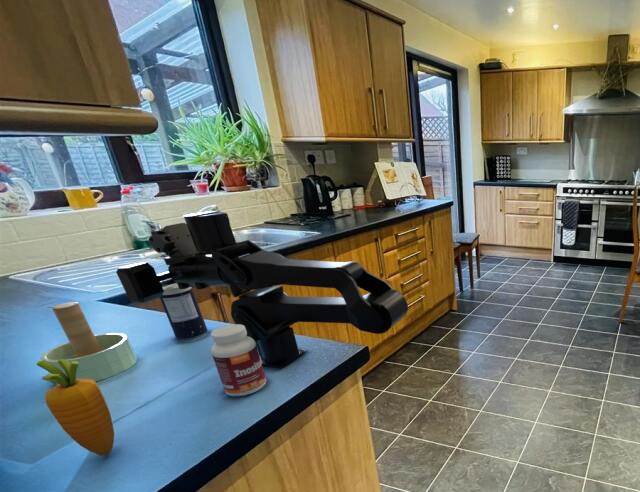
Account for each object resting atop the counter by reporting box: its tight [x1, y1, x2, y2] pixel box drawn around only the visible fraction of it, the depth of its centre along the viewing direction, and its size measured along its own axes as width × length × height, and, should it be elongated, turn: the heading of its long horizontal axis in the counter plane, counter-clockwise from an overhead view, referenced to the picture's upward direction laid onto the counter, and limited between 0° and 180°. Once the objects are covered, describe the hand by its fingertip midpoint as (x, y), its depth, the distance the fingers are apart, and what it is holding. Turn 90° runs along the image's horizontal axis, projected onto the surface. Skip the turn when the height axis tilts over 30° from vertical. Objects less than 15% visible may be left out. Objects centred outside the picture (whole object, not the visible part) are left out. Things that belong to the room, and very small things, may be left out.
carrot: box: [36, 359, 115, 457], centre depth 51 cm, size 5×5×15 cm
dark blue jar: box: [159, 283, 208, 341], centre depth 86 cm, size 6×6×12 cm
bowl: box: [40, 332, 138, 386], centre depth 74 cm, size 11×11×6 cm
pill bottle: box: [210, 323, 267, 397], centre depth 67 cm, size 6×6×11 cm
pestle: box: [51, 301, 103, 358], centre depth 72 cm, size 5×5×13 cm
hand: (147, 270), depth 77 cm, fingers open, 9 cm apart
